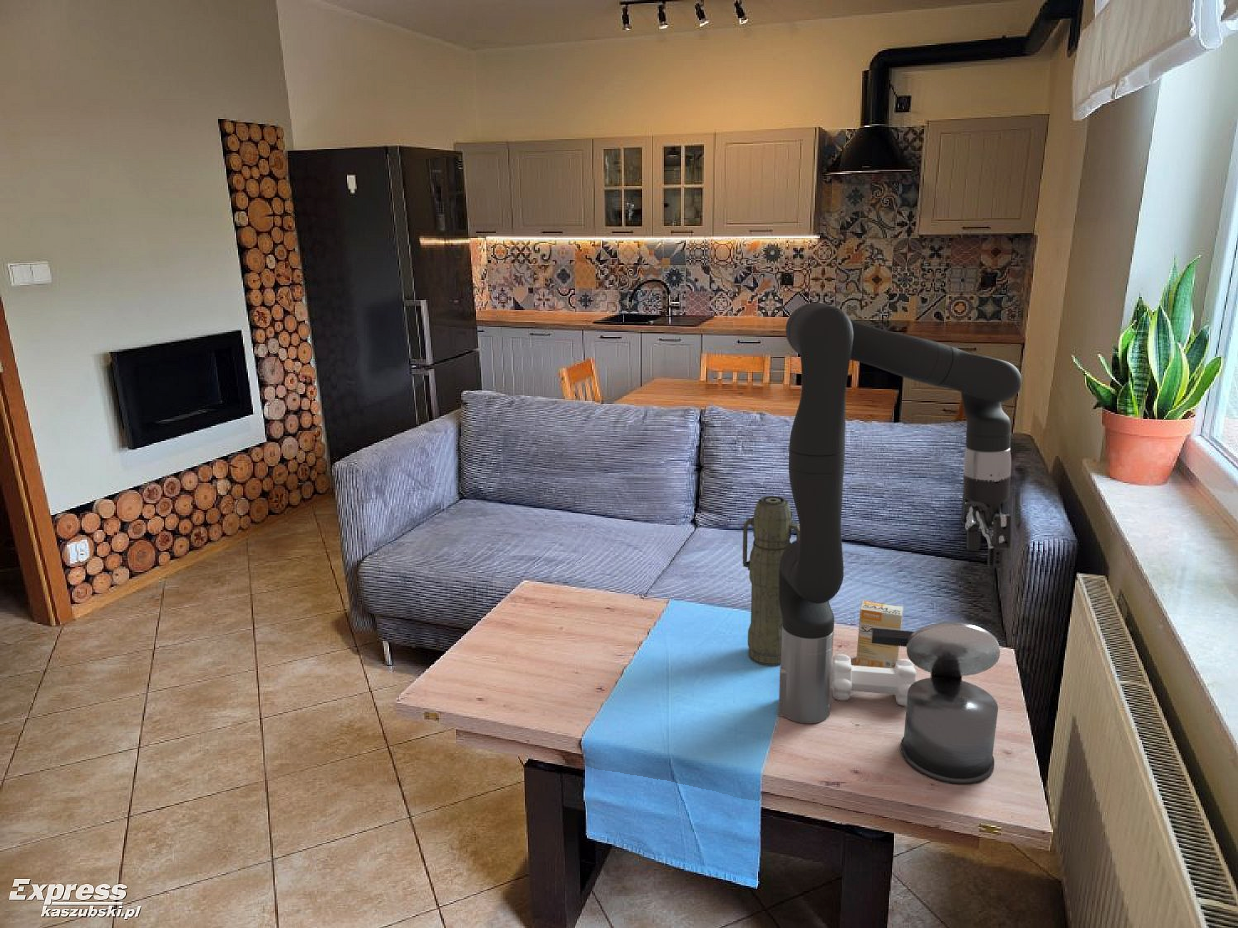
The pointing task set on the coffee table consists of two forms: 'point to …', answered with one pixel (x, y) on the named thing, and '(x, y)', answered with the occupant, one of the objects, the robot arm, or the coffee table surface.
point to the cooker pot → (950, 730)
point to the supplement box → (871, 618)
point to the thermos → (767, 576)
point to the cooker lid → (945, 648)
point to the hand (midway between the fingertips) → (983, 558)
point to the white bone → (872, 679)
